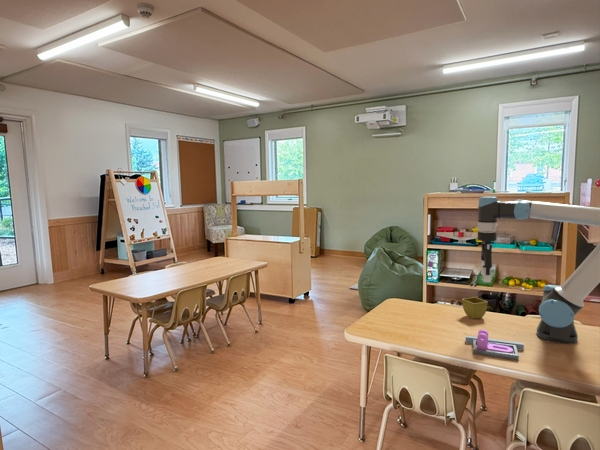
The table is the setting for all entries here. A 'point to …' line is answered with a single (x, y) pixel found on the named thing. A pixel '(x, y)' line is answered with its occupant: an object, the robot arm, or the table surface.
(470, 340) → the door edge
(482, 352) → the shallow rectangular tray
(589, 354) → the table surface
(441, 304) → the table surface
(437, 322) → the table surface
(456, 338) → the table surface
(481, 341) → the bracket
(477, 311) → the flower pot
